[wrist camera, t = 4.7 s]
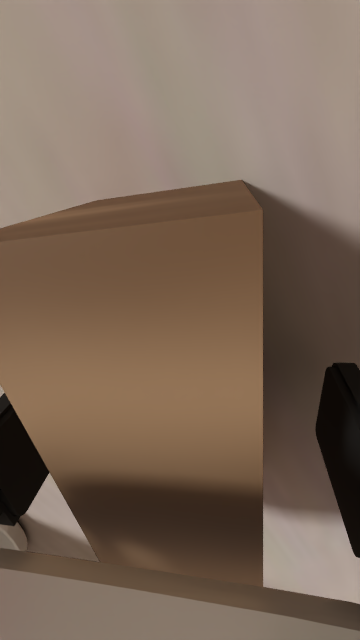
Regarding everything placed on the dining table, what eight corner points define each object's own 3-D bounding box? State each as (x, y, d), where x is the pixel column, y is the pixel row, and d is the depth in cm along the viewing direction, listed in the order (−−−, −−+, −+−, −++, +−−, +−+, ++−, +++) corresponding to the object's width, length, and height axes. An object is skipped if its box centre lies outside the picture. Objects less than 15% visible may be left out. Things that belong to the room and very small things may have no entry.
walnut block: (250, 464, 14) (262, 637, 9) (163, 460, 15) (130, 615, 10) (241, 179, 8) (263, 209, 3) (98, 199, 9) (-76, 250, 4)
